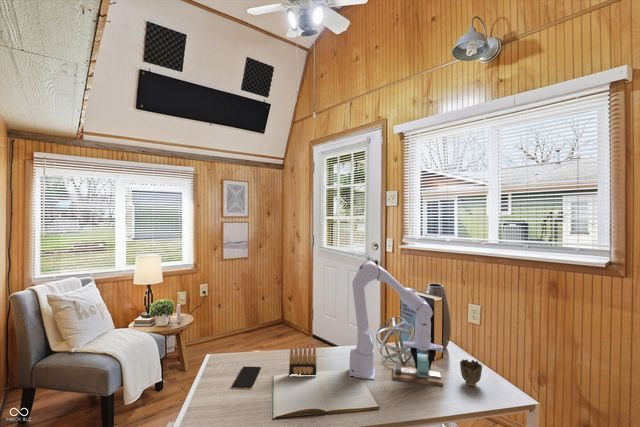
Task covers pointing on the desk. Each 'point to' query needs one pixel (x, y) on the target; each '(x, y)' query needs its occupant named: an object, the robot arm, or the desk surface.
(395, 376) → the mounting board
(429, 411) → the desk surface
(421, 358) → the block
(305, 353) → the ammunition clip
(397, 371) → the rail
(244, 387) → the smartphone
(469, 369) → the cup
